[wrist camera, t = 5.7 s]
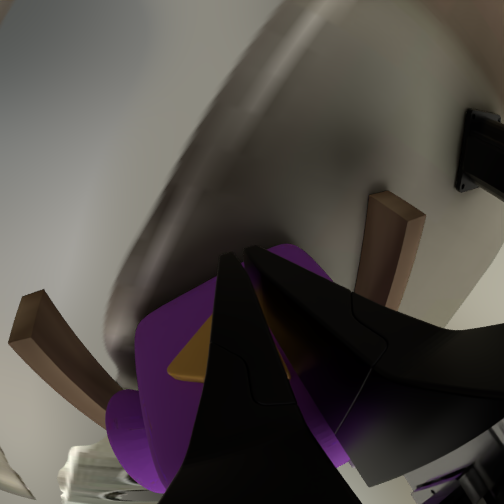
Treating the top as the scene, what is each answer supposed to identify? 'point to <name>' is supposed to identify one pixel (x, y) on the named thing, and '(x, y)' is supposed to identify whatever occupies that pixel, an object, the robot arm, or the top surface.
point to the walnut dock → (104, 387)
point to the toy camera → (187, 386)
